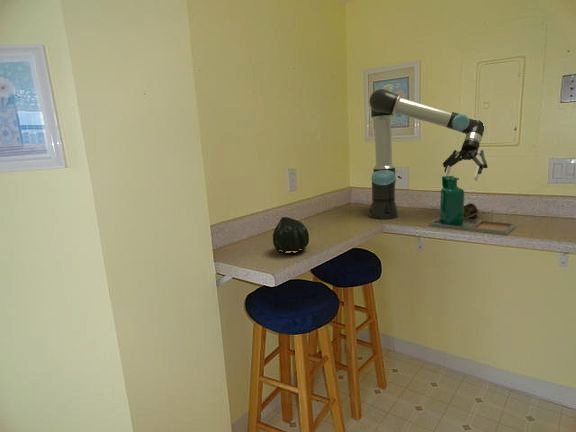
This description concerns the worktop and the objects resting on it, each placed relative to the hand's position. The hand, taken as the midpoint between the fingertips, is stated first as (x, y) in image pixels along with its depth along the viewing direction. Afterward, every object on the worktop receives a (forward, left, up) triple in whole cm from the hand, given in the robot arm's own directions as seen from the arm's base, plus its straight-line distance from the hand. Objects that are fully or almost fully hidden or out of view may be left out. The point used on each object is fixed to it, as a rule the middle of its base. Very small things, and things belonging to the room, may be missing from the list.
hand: (460, 178), depth 184 cm
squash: (-38, -80, -20) cm, 91 cm away
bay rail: (+9, -10, -20) cm, 24 cm away
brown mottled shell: (+1, +4, -20) cm, 21 cm away
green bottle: (0, -10, -20) cm, 23 cm away
